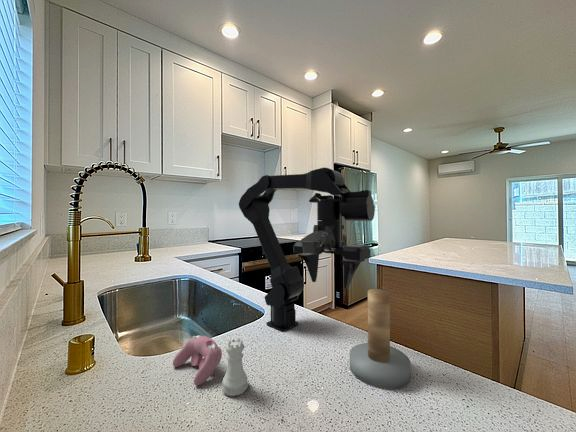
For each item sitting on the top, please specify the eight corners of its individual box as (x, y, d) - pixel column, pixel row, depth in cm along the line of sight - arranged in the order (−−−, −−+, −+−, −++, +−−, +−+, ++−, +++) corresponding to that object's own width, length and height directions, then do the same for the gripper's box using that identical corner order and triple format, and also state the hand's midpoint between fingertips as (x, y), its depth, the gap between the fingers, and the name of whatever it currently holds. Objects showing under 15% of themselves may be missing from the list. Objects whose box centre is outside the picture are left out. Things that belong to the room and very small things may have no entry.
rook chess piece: (216, 392, 42) (216, 344, 43) (233, 377, 46) (233, 334, 46) (236, 401, 40) (236, 351, 40) (253, 384, 44) (253, 339, 44)
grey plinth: (339, 370, 48) (339, 357, 48) (365, 348, 56) (365, 337, 56) (398, 398, 41) (398, 383, 41) (418, 368, 49) (418, 355, 49)
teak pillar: (364, 357, 49) (364, 292, 49) (373, 349, 51) (373, 287, 51) (385, 365, 46) (384, 296, 46) (393, 356, 49) (393, 291, 49)
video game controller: (215, 387, 46) (229, 346, 48) (194, 387, 43) (210, 344, 45) (188, 366, 53) (202, 331, 55) (169, 365, 50) (184, 328, 52)
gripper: (278, 221, 62) (278, 284, 62) (346, 221, 49) (346, 302, 49) (306, 220, 70) (307, 276, 70) (371, 220, 57) (371, 289, 57)
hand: (329, 285), depth 61 cm, fingers open, 9 cm apart
